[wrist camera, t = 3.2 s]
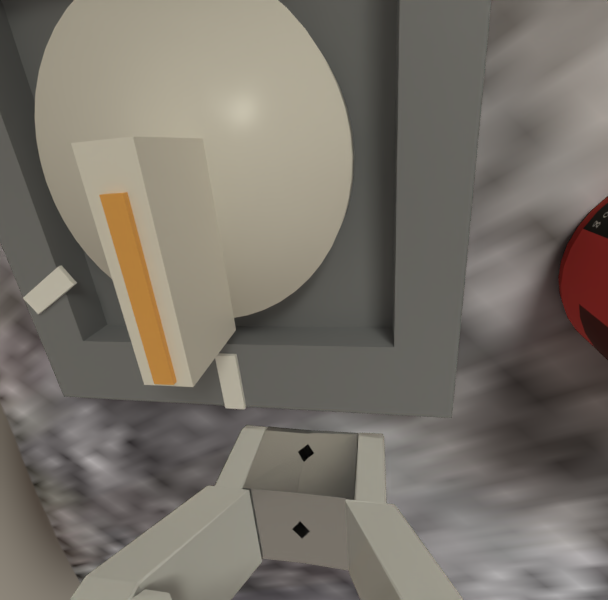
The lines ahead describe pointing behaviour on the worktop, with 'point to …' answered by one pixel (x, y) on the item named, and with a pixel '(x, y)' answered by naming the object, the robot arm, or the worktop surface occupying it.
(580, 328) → the canned food
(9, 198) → the panel
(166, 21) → the dial
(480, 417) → the worktop surface
